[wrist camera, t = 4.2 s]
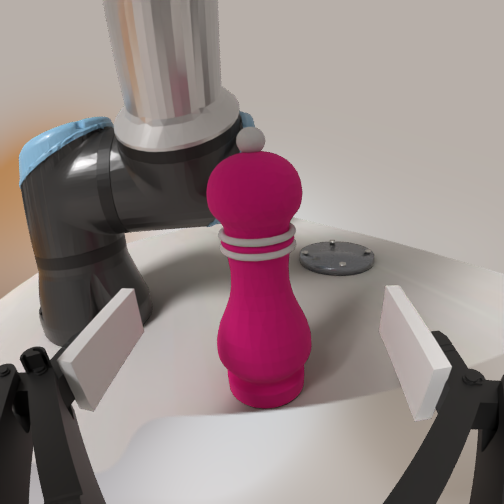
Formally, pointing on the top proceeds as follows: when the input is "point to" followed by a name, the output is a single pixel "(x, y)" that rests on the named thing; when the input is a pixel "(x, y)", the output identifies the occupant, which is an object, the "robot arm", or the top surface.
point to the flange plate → (336, 258)
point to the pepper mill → (259, 273)
